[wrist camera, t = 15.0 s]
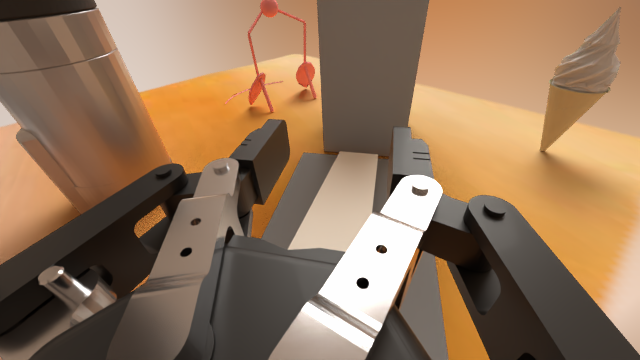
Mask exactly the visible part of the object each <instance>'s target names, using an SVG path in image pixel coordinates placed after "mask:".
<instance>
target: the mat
mask: <svg viewBox="0 0 640 360" xmlns="http://www.w3.org/2000/svg"><path fill="white" fill-rule="evenodd" d="M337 156H338V155H329V154H316V153H303V155H302V157H301V159H300V161H299V163H298V165H297V167H296V169H295V171H294V173H293V175H292V177H291V179H290V181H289V183H288V185H287V187H286V189H285V191H284V193H283V195H282V197H281V199H280V201H279V203H278V206H277V208H276V210H275V212H274V214H273V216H272V218H271V220H270V222H269V224H268V226H267V228H266V230H265V232H264V234H263V236H262V238H261V239H263V240H265V241H267V242H270V243H272V244H274V245H277V246H279V247H281V248H284V249H287V250H288V248H289V246H290V244H291V242H292V240H293V239H294V237H295V235H296V233H297V231H298V229H299V227H300V225H301V224H302V222H303V220H304V218H305V216H306V214H307V212H308V210H309V209H310V207H311V205H312V203H313V201H314V199H315V197H316V195H317V194H318V192H319V190H320V188H321V186H322V184H323V182H324V180H325V179H326V177H327V175H328V173H329V171H330V169H331V167H332V165H333V164H334V162H335V160H336V158H337ZM388 161H389V159H378V162H377V171H376V181H375V190H374V199H373V208H372V213H373V212H374V211H377V212H381V211H382V209H383V208H384V206H385V204H386V200H387V176H388ZM400 313H401V314H402V316H403V317H404V319H405V320H406V322H407V323H408V325H409V326H410V328H411V329H412V331H413V332H414V334H415V335H416V337H417V338H418V340H419V341H420V343H421V344H422V346H423V347H424V349H425V350H426V352H427V353H428V355H429V356H430V358H431V359H432V360H448V353H447V345H446V337H445V330H444V322H443V315H442V307H441V300H440V292H439V284H438V277H437V269H436V262H435V256H434V255H432V254H429V253H427V252H425V251H423V253H422V256H421V258H420V260H419V263H418V265H417V268H416V270H415V273H414V275H413V277H412V280H411V282H410V285H409V287H408V290H407V293H406V296H405V299H404V301H403V304H402V306H401V309H400Z"/></svg>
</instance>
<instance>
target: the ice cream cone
mask: <svg viewBox="0 0 640 360" xmlns="http://www.w3.org/2000/svg"><path fill="white" fill-rule="evenodd" d="M620 10H621V7H619V8H618V10H617V11H616V12H615V13H614V14H613V15H612V16H611V17H610V18H609V19H608V20H607V21H606V22H605V23H604V24H603V25H602V26H600V28H598V29H597V31H595V32H594V33H592V34H591V35H590V36H588V37H587V38H586V39H585V41H584V43H583V44H582V45H581V47H580V48H579V49H578V50H577V51H575V52H574V53H573V54H571V55H568V56H566V57H564V58H563V60H562V61H561V63H562V64H560V65H558V66H557V67H556V68H555V75H556V76H554V77H553V79H551V80H550V81H549V83H550V88H549V95H548V102H547V108H546V114H545V120H544V127H543V134H542V140H541V147H540V150H541V151H545V150H546V149H547V148H548V147H550V146H551V145H552V144H553V143H554V142H555V141H556V140H557V139H558V138H559V137H560V136H561V135H562V134H563V133H564V132H565V131H566V130H568V129H569V128H570V127H571V126H572V125H573V124H574V123H575V122H576V121H577V120H578V119H579V118H580V117H581V116H582V115H583V114H584V113H586V112H587V111H588V110H589V109H590V108H591V107H592V106H593V105H594V104H595V103H596V102H597V101H598V100H599V99H600V98H601V97H602V96H603V95H604V94H605V93H608V92H609V91H610V88H609V86H610V85H611V83H612V82H613V81H614V79H615V78H616V76H617V73H618V70H619V66H620V61H619V59H618V58H617V56H616V55H615V52H616V49H617V45H618V44H620V40H619V19H620Z"/></svg>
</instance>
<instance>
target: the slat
mask: <svg viewBox="0 0 640 360" xmlns="http://www.w3.org/2000/svg"><path fill="white" fill-rule="evenodd" d="M377 162H378V154H366V153H354V152H342V151H340V152H339V154H338V156H337V158H336V160H335V162H334V164H333V165H332V167H331V169H330V171H329V173H328V175H327V177H326V179H325V180H324V182H323V184H322V186H321V188H320V190H319V192H318V194H317V195H316V197H315V199H314V201H313V203H312V205H311V207H310V209H309V210H308V212H307V214H306V216H305V218H304V220H303V222H302V224H301V225H300V227H299V229H298V231H297V233H296V235H295V237H294V239H293V240H292V242H291V244H290V246H289V248H288V250H294V249H310V248H324V249H331V250H337V251H344V252H347V250H348V249H349V247H350V246H351V244H352V243H353V241H354V240H355V238H356V237H357V235H358V234H359V232H360V231H361V229H362V228H363V226H364V225H365V223H366V222H367V220H368V219H369V217H370V216H371V215H372V208H373V199H374V190H375V181H376V171H377Z"/></svg>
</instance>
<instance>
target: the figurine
mask: <svg viewBox="0 0 640 360" xmlns="http://www.w3.org/2000/svg"><path fill="white" fill-rule="evenodd" d="M260 6H261V12H260V14H259V15H258V17H257V18H256V20H255V21H254V23H253V25H252V27H251V28H250V30H249V31H248V38H249V43H250V47H251V51H252V56H253V60H254V64H255V69H256V73H257V77H256V79H255V81H254V83H253V84H252V86H251V88H250V91H249V103H250V104H251V105H252V104H253V103H254V101H255V100H256V98H257V97H258V95H259V94H260V92H261V90H263V92H264V95H265V98H266V100H267V103H268V106H269V108H270V111H271V112H272V111H274V110H273V107H272V105H271V102H270V99H269V97H268V94H267V91H266V88H265V86H264V85H267V84H264V82H265V74H264V73H263V72H262V74H261V73H260V74H259V73H258V68H257V64H256V59H255V55H254V50H253V46H252V41H251V37H250V33H251V31H252V30H253V28H254V26H255V25H256V23H257V21H258V20H259V18H260V17H261V15H262V13H263V14H264V15H265V16H267V17H273V16H275V15H276V14H277V12H280V13H282V14H284V15H287V16H289V17H291V18H294V19H296V20H298V21H300V22H303V23H304V63H303V64H302V65H300V66H299V68H298V70H297V73H296V79H297V81H298V83H299V84H300V85H302V86H303V87H307V86H308V85H310V88H311V91H312V94H313V97H314V98H316V94H315V91H314V88H313V85H312V79H313V77H314V74H315V69H314V67H313V65H312V64H311V62H306V23H305V21H304V20H301V19H299V18H297V17H295V16H293V15H290V14H288V13H286V12H284V11H281V10H279V9H278V4H277V2H276V0H262V2H261V5H260ZM281 82H283V81H281ZM274 83H279V82H274ZM269 84H273V83H269ZM247 90H249V89H247ZM247 90H245V91H247ZM242 92H244V91H242ZM242 92H240V93H242ZM240 93H238V94H240ZM238 94H237V93H236V95H238ZM234 95H235V94H234ZM236 95H235V96H236ZM232 96H233V95H232ZM233 97H234V96H233ZM233 97H231V98H233ZM231 98H230V99H231ZM230 99H229V100H230ZM229 100H228V101H229ZM228 101H227V102H228ZM227 102H226V103H227ZM226 103H225V104H226Z"/></svg>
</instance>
